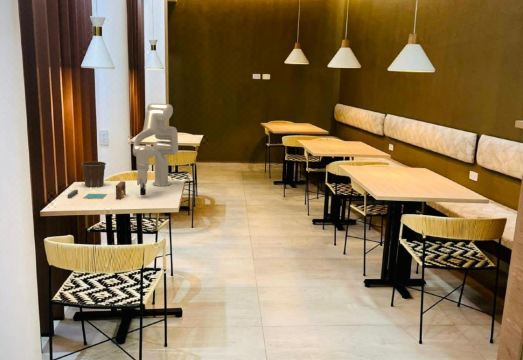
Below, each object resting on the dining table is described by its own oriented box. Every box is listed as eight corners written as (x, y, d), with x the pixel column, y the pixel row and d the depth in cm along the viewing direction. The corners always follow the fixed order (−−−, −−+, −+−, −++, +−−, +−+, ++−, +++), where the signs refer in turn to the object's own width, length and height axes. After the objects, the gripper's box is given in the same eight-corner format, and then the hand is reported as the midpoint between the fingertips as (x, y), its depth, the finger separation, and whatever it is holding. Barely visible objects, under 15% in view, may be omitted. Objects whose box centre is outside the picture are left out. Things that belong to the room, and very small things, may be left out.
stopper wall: (74, 193, 318) (74, 189, 318) (78, 193, 319) (77, 189, 318) (67, 198, 305) (67, 194, 304) (71, 198, 305) (70, 194, 304)
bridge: (115, 199, 307) (115, 185, 305) (120, 194, 320) (120, 181, 319) (120, 199, 307) (120, 185, 305) (125, 194, 321) (125, 181, 319)
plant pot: (105, 188, 336) (104, 165, 333) (80, 188, 333) (79, 165, 330) (107, 183, 352) (107, 161, 349) (83, 183, 349) (83, 161, 345)
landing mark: (88, 194, 318) (88, 193, 318) (107, 194, 319) (107, 194, 319) (83, 198, 306) (83, 197, 306) (102, 198, 307) (102, 198, 307)
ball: (118, 196, 315) (116, 189, 314) (125, 195, 315) (124, 188, 314) (116, 198, 310) (114, 191, 309) (124, 197, 310) (122, 190, 309)
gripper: (138, 164, 318) (139, 192, 321) (134, 168, 303) (134, 197, 307) (150, 165, 318) (150, 192, 322) (146, 169, 304) (146, 197, 307)
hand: (143, 195), depth 314 cm, fingers closed
